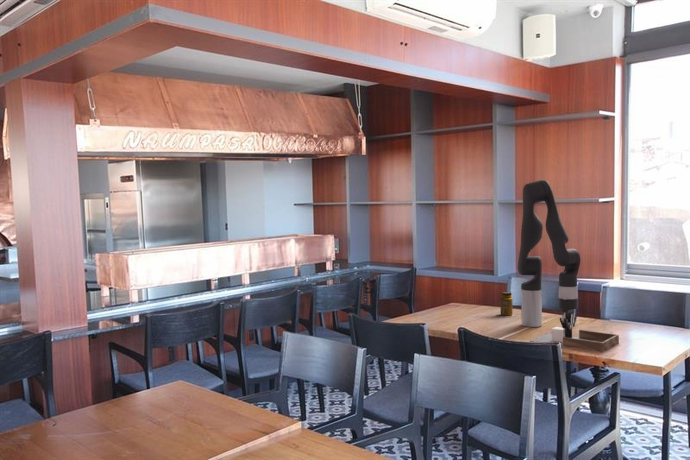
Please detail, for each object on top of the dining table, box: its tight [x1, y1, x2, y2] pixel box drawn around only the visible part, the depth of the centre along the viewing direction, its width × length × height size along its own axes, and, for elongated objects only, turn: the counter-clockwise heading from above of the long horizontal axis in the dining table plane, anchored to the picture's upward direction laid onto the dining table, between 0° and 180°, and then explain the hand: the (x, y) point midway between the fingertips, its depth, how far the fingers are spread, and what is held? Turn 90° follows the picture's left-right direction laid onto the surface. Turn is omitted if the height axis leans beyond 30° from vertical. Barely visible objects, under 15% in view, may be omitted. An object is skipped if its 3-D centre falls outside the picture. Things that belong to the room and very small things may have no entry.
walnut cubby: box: [562, 329, 620, 353], centre depth 238 cm, size 18×16×4 cm
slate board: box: [529, 332, 619, 353], centre depth 243 cm, size 18×30×1 cm, turn 47°
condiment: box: [494, 291, 515, 318], centre depth 305 cm, size 7×8×12 cm
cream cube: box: [551, 326, 566, 342], centre depth 246 cm, size 5×5×5 cm
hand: (568, 338), depth 244 cm, fingers closed
